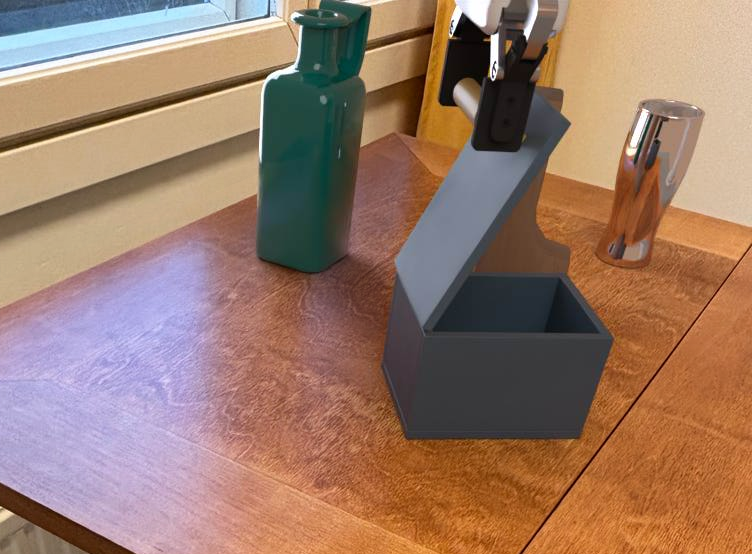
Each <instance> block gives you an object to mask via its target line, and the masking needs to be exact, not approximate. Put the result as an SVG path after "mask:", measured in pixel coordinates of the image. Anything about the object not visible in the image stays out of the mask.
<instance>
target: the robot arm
mask: <svg viewBox="0 0 752 554" xmlns="http://www.w3.org/2000/svg"><path fill="white" fill-rule="evenodd" d="M453 1H454V3H455V5H456V6H455V9H454V11H453V14H452V17H451V19H450V22H449V31H448V32H449V33H448V35H449V38H447V42H446V48H445V54H444V58H443V59H444V60H443V65H442V70H441V71H442V72H441V76H440V83H439V87H438V93H437V94H438V95H437V102H438V104H439V105H440V106H441V107H451V108H452V107H453V108H459V107H458V106H457V104H456V103H455V101H454V98H453V92H454V88H455V86H456V85H457V83H458V82H459V81H461V80H462V79H464V78H472V79H474V80H475V81H476V82H477V83H478V84H479V85H480V86H481V88H482V89H481V94H480V99H479V104H478V109H477V114H476V119H475V124H474V126H473V130H472V133H473V134H472V133H471V135H472V139H471V146H472V147H473V149H474V150H476V151H490V152H517V151H518V150H519V149H520V148H521V144H522V140H523V136H524V132H525V128H526V124H527V119H528V115H529V111H530V107H531V103H532V98H533V94H534V90H535V86H537V83H538V81H539V79H540V77H541V72H542V62H543V60H544V58H545V56H546V55H548V52H549V46H548V45H549V42H548V40H549V39H554V38H555V37H556V36H558V35H559V34H560V32H561V31H562V30H563V28H564V25H565V21H566V17H567V13H568V9H569V5H570V0H453ZM508 41H510V42H511V41H512V43H511V45H510V47H509V48H508V50H507V42H508ZM489 73H490V76H489Z"/></svg>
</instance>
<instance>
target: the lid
mask: <svg viewBox="0 0 752 554" xmlns="http://www.w3.org/2000/svg"><path fill="white" fill-rule="evenodd" d="M481 89H482V88H481V86H480V85H479V84H478V83H477V82H476V81H475V80H474V79H472V78H464V79H462V80H461V81H459V82H458V83H457V85H456V86H455V88H454V92H453V98H454V101H455V103H456V104H457V106H458V107H457V108H459V109H460V111H461V112H462V113H463V115H464V116H465V117H466V119H467V120H468V121H469V122H470V123H471V125H472V126H473V127H474V124H475V119H476V114H477V109H478V104H479V99H480V94H481ZM571 125H572V122H571V121H570V120H569V119H568V118H566V116H564V114H563V113H562V112H561V113H560V112H559V111H558V110H557V109H556V108H555V107H554V106H553V105H552V104H551V103H550V102H549V101H548V100H547V99H546V98H545V97H543V96H542V95H541V94H540V93H539V92H538V91H537V90H536V89H535V90H534V94H533V98H532V103H531V107H530V111H529V115H528V119H527V124H526V128H525V132H524V136H523V140H522V144H521V148H520V149H519V150H518V151H517V152H490V151H476V150H474V149H473V147H472V146H471V139H472V134H473V132H472V133H471V134H470V137H469V138H468V140H467V142H466V143H465V144H464V146H463V148H462V150H461V151H460V153H459V154H458V156H457V158H456V159H455V161H453V164H452V165H451V167H450V168H449V171H448V173H446V175H445V177H444V179H443V181H441V184H440V185H439V187H438V189H437V190H436V192H435V193H434V195H433V197H432V199H431V200H430V202H429V203H428V205H427V207H426V208H425V210H424V211H423V213H422V215H421V216H420V218H419V220H418V221H417V222H416V225H415V226H414V227H413V229H412V230H411V233H410V234H409V236H408V237H407V239H406V240H405V242H404V244H403V245H402V247H401V249H400V250H399V252H398V254H397V256H396V257H395V259H394V260H393V264H394V266H395V268H396V271H398V273H399V276H400V278H401V280H402V282H403V285H404V287H405V289H406V292H407V294H408V296H409V298H410V301H411V303H412V305H413V307H414V310H415V312H416V314H417V317H418V319H419V321H420V323H421V326H422V328H424V329H426V330H427V331H429V332H431V331H432V329H433V328H434V326H435V325H436V323H437V322H438V320H439V319H440V317H441V316H442V315H443V313H444V312H445V310H446V309H447V307H448V306H449V304H450V303H451V301H452V300H453V298H454V297H455V295H456V294H457V292H458V291H459V289H460V288H461V286H462V285H463V284H464V282H465V281H466V279H467V278H468V276H469V275H470V273H471V272H472V271H474V270H475V266H476V264H477V263H478V261H479V260H480V258H481V257H482V255H483V254H484V252H485V251H486V250H487V248H488V247H489V245H490V244H491V242H492V241H493V239H494V238H495V236H496V235H497V233H498V232H499V230H500V229H501V227H502V226H503V224H504V223H505V221H506V220H507V219H508V217H509V216H510V214H511V213H512V211H513V210H514V208H515V207H516V205H517V204H518V202H519V201H520V199H521V198H522V196H523V195H524V193H525V192H526V190H527V189H528V187H529V186H530V185H531V183H532V182H533V180H534V179H535V177H536V176H537V174H538V173H539V171H540V170H541V168H542V167H543V165H544V164H545V162H546V161H547V159H548V158H549V159H550V156H552V153H553V152H554V150H555V149H556V148H557V146H558V145H559V143H560V142H561V140H562V139H563V138H564V136H565V134H566V133H567V131H568V130H569V128H570V127H571Z"/></svg>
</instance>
